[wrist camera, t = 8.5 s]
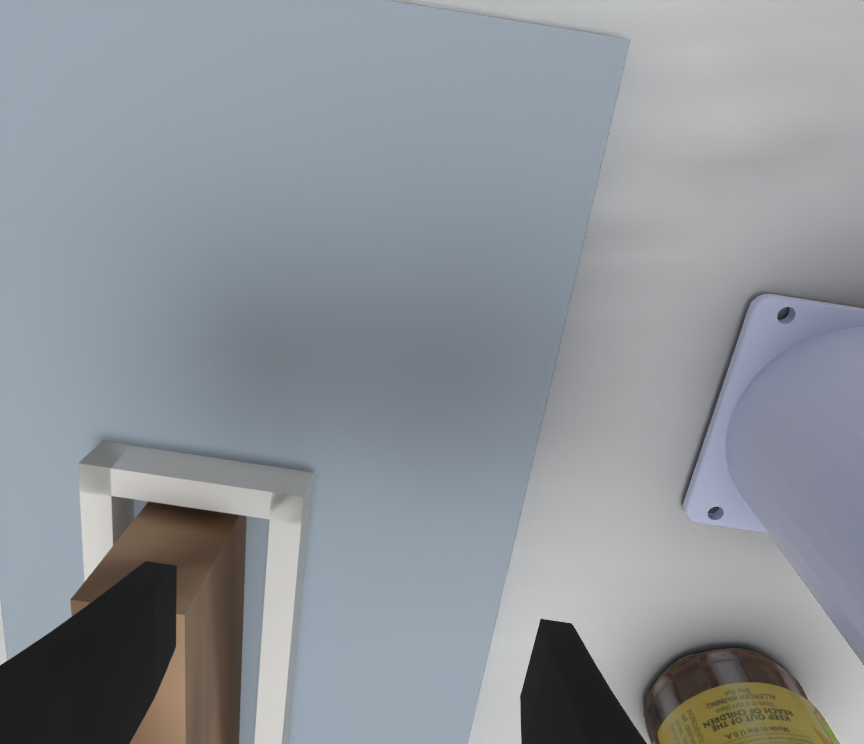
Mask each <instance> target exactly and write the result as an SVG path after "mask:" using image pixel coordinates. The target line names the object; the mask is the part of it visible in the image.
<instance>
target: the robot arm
mask: <svg viewBox="0 0 864 744" xmlns="http://www.w3.org/2000/svg"><path fill="white" fill-rule="evenodd" d="M784 307H789V308H790V310H789V314H788V316H787V317H786V318H784V319H783V320H778V319H777V315H778V313H779V311H780V310H781V309H783V308H784ZM713 507H719V509H718V511H717V512H715V513H708V511H709V510H710V509H711V508H713ZM683 510H684V513H685V514H686V516H687V518H688V519H689V520H690V521H692V522H695V523H701V524H707V525H714V526H721V527H727V528H734V529H741V530H748V531H754V532H761V533H768V534H769V535H770V536H771V538H772V539H773V540H774V542H775V543H776V544H777V546H778V547H779V549H780V550H781V551H782V553H783V554H784V555H785V557H786V558H787V560H788V561H789V562H790V564H791V565H792V567H793V568H794V569H795V571H796V572H797V573H798V575H799V576H800V578H801V579H802V580H803V582H804V583H805V584H806V586H807V587H808V589H809V590H810V591H811V593H812V594H813V596H814V597H815V598H816V600H817V601H818V602H819V604H820V605H821V607H822V608H823V609H824V611H825V612H826V614H827V615H828V616H829V618H830V619H831V620H832V622H833V623H834V625H835V626H836V627H837V629H838V630H839V631H840V633H841V634H842V636H843V637H844V638H845V640H846V641H847V643H848V644H849V645H850V647H851V648H852V649H853V651H854V652H855V654H856V655H857V656H858V658H859V659H860V660H861V662H862V663H863V665H864V308H859V307H852V306H846V305H840V304H833V303H827V302H820V301H814V300H808V299H801V298H795V297H788V296H782V295H775V294H763V295H760V296H758V297H756V298H755V299H754V300H753V301H752V302H751V304H750V306H749V308H748V311H747V314H746V317H745V320H744V323H743V326H742V329H741V332H740V335H739V338H738V341H737V344H736V347H735V350H734V353H733V356H732V359H731V362H730V365H729V368H728V371H727V374H726V377H725V380H724V383H723V386H722V389H721V392H720V395H719V398H718V401H717V404H716V407H715V410H714V413H713V416H712V419H711V422H710V425H709V428H708V431H707V434H706V437H705V440H704V443H703V446H702V449H701V452H700V455H699V458H698V461H697V464H696V467H695V470H694V473H693V476H692V479H691V482H690V485H689V488H688V491H687V494H686V497H685V500H684V503H683ZM176 598H177V566H176V565H169V564H162V563H155V562H148V561H145V562H144V563H142V564H141V565H140V566H138V567H137V568H135V569H134V570H133V571H131V572H130V573H129V574H127V575H126V576H125V577H124V578H122V579H121V580H120V581H118V582H117V583H116V584H114V585H113V586H112V587H110V588H109V589H108V590H107V591H105V592H104V593H103V594H101V595H100V596H99V597H97V598H96V599H95V600H93V601H92V602H91V603H89V604H88V605H87V606H85V607H84V608H83V609H81V610H80V611H79V612H77V613H76V614H74V615H73V616H72V617H70V618H69V619H68V620H66V621H65V622H63V623H62V624H61V625H59V626H58V627H56V628H55V629H54V630H52V631H51V632H49V633H48V634H47V635H45V636H44V637H42V638H41V639H39V640H38V641H36V642H35V643H33V644H32V645H30V646H29V647H27V648H26V649H24V650H23V651H21V652H20V653H18V654H17V655H15V656H14V657H12V658H11V659H9V660H8V661H6V662H5V663H3V664H2V665H0V744H130V742H131V740H132V738H133V737H134V735H135V733H136V731H137V729H138V728H139V726H140V724H141V722H142V720H143V719H144V717H145V715H146V713H147V711H148V710H149V708H150V706H151V704H152V702H153V700H154V698H155V696H156V694H157V692H158V689H159V687H160V685H161V682H162V680H163V678H164V675H165V673H166V671H167V668H168V666H169V663H170V661H171V658H172V656H173V653H174V651H175V648H176ZM520 699H521V737H522V744H647V743H646V742H645V740H644V739H643V738H642V736H641V735H640V733H639V732H638V730H637V729H636V727H635V726H634V724H633V723H632V722H631V720H630V718H629V717H628V715H627V714H626V712H625V711H624V709H623V708H622V706H621V705H620V703H619V702H618V700H617V698H616V697H615V695H614V694H613V692H612V691H611V689H610V687H609V686H608V684H607V682H606V681H605V679H604V678H603V676H602V674H601V672H600V671H599V669H598V667H597V666H596V664H595V662H594V661H593V659H592V657H591V656H590V654H589V652H588V650H587V649H586V647H585V645H584V643H583V642H582V640H581V638H580V636H579V635H578V633H577V631H576V629H575V628H574V626H573V625H572V624H571V623H565V622H558V621H551V620H544V619H541V620H540V624H539V628H538V631H537V635H536V639H535V643H534V647H533V650H532V654H531V658H530V662H529V666H528V670H527V673H526V677H525V681H524V685H523V689H522V692H521V696H520Z"/></svg>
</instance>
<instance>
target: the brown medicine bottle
mask: <svg viewBox="0 0 864 744" xmlns="http://www.w3.org/2000/svg"><path fill="white" fill-rule="evenodd" d="M644 716H645V722H646V728H647V732H648V735H649V739H650V741H651V744H840V743H839V742H838V740H837V739H836V737H835V735H834V734H833V732H832V731H831V729H830V727H829V726H828V724H827V722H826V721H825V719H824V718H823V716H822V715H821V713H820V712H819V711H818V710H817V709H816V708H815V707H814V706H813V705H812V704H811V703H810V702H809V700H808V698H807V697H806V694H805V692H804V690H803V688H802V687H801V685H800V684H799V683H798V681H797V680H796V679H795V678H794V677H793V676H791V675H790V674H789V673H788V672H787V671H786V670H784V669H783V668H782V667H781V666H779V665H778V664H777V663H775V662H773V661H772V660H770V659H768V658H766V657H764V656H763V655H761V654H759V653H757V652H754V651H751V650H746V649H742V648H727V649H716V650H710V651H706V652H700V653H697V654H690V655H687V656H685V657H683V658H681V659H679V660H678V661H676V662H674V663H673V664H671V665H670V666H669V667H668V668H667V670H666V671H665V672H663V673H662V674H661V675H660V677H659V678H658V679H657V680H656V682H655V683H654V685H653V686H652V689H651V690H650V692H649V693H648V695H647V697H646V700H645V705H644Z"/></svg>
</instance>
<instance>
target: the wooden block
mask: <svg viewBox="0 0 864 744" xmlns="http://www.w3.org/2000/svg"><path fill="white" fill-rule="evenodd" d="M246 523H247V516H243V515H236V514H230V513H223V512H216V511H209V510H203V509H196V508H189V507H182V506H176V505H169V504H162V503H156V502H148V503H147V504H146V505H145V507H144V508H143V509H142V510H141V512H140V513H139V514H138V515H137V517H136V518H135V519H134V520H133V522H132V523H131V524H130V525H129V527H128V528H127V529H126V530H125V532H124V533H123V534H122V535H121V537H120V538H119V539H118V540H117V542H116V543H115V544H114V546H113V547H112V548H111V549H110V551H109V552H108V553H107V554H106V556H105V557H104V558H103V559H102V561H101V562H100V563H99V564H98V566H97V567H96V568H95V569H94V571H93V572H92V573H91V574H90V576H89V577H88V578H87V579H86V581H85V582H84V583H83V584H82V586H81V587H80V588H79V589H78V591H77V592H76V593H75V594H74V596H73V597H72V598H71V599H70V603H71V614H72V616H73V615H74V614H76V613H77V612H79V611H80V610H81V609H83V608H84V607H85V606H87V605H88V604H89V603H91V602H92V601H93V600H95V599H96V598H97V597H99V596H100V595H101V594H103V593H104V592H105V591H107V590H108V589H109V588H110V587H112V586H113V585H114V584H116V583H117V582H118V581H120V580H121V579H122V578H124V577H125V576H126V575H127V574H129V573H130V572H131V571H133V570H134V569H135V568H137V567H138V566H140V565H141V564H142V563H144V562H145V561H148V562H155V563H162V564H169V565H176V566H177V598H176V648H175V651H174V653H173V656H172V658H171V661H170V663H169V666H168V668H167V671H166V673H165V675H164V678H163V680H162V682H161V685H160V687H159V689H158V692H157V694H156V696H155V698H154V700H153V702H152V704H151V706H150V708H149V710H148V711H147V713H146V715H145V717H144V719H143V720H142V722H141V724H140V726H139V728H138V729H137V731H136V733H135V735H134V737H133V738H132V740H131V742H130V744H239V733H240V703H241V673H242V643H243V613H244V583H245V553H246Z"/></svg>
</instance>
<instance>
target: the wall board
mask: <svg viewBox="0 0 864 744" xmlns="http://www.w3.org/2000/svg"><path fill="white" fill-rule="evenodd" d="M629 43H630V39H626V38H620V37H614V36H608V35H602V34H595V33H589V32H583V31H577V30H570V29H564V28H558V27H552V26H546V25H539V24H533V23H527V22H521V21H515V20H508V19H502V18H496V17H490V16H484V15H477V14H471V13H465V12H459V11H453V10H446V9H440V8H434V7H428V6H422V5H415V4H409V3H403V2H397V1H391V0H0V600H1V609H2V618H3V626H4V635H5V644H6V653H7V661H8V660H9V659H11V658H12V657H14V656H15V655H17V654H18V653H20V652H21V651H23V650H24V649H26V648H27V647H29V646H30V645H32V644H33V643H35V642H36V641H38V640H39V639H41V638H42V637H44V636H45V635H47V634H48V633H49V632H51V631H52V630H54V629H55V628H56V627H58V626H59V625H61V624H62V623H63V622H65V621H66V620H68V619H69V618H70V617H72V614H71V603H70V599H71V598H72V597H73V596H74V594H75V593H76V592H77V591H78V589H79V588H80V587H81V586H82V584H83V583H84V582H85V581H86V579H87V578H88V577H89V576H90V574H91V573H92V572H93V571H94V569H95V568H96V567H97V566H98V564H99V563H100V562H101V561H102V559H103V558H104V557H105V556H106V554H107V553H108V552H109V551H110V549H111V548H112V547H113V546H114V544H115V543H116V542H117V540H118V539H119V538H120V537H121V535H122V534H123V533H124V532H125V530H126V529H127V528H128V527H129V525H130V524H131V523H132V522H133V520H134V519H135V518H136V517H137V515H138V514H139V513H140V512H141V510H142V509H143V508H144V507H145V505H146V504H147V503H148V502H156V503H162V504H169V505H176V506H182V507H189V508H196V509H203V510H209V511H216V512H223V513H230V514H236V515H243V516H247V523H246V553H245V583H244V613H243V643H242V673H241V703H240V733H239V744H468V739H469V735H470V731H471V727H472V722H473V718H474V714H475V709H476V705H477V701H478V696H479V692H480V688H481V683H482V679H483V675H484V670H485V666H486V662H487V657H488V653H489V649H490V644H491V640H492V636H493V631H494V627H495V623H496V618H497V614H498V610H499V605H500V601H501V597H502V592H503V588H504V584H505V579H506V575H507V571H508V566H509V562H510V558H511V553H512V549H513V545H514V540H515V536H516V532H517V527H518V523H519V519H520V514H521V510H522V506H523V501H524V497H525V493H526V489H527V484H528V480H529V476H530V471H531V467H532V463H533V458H534V454H535V450H536V445H537V441H538V437H539V432H540V428H541V424H542V419H543V415H544V411H545V406H546V402H547V398H548V393H549V389H550V385H551V380H552V376H553V372H554V367H555V363H556V359H557V354H558V350H559V346H560V341H561V337H562V333H563V328H564V324H565V320H566V315H567V311H568V307H569V302H570V298H571V294H572V289H573V285H574V281H575V276H576V272H577V268H578V263H579V259H580V255H581V251H582V246H583V242H584V238H585V233H586V229H587V225H588V220H589V216H590V212H591V207H592V203H593V199H594V194H595V190H596V186H597V181H598V177H599V173H600V168H601V164H602V160H603V155H604V151H605V147H606V142H607V138H608V134H609V129H610V125H611V121H612V116H613V112H614V108H615V103H616V99H617V95H618V90H619V86H620V82H621V77H622V73H623V69H624V64H625V60H626V56H627V51H628V47H629Z"/></svg>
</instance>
